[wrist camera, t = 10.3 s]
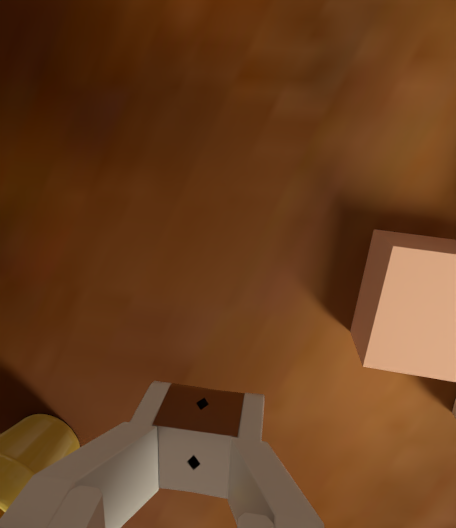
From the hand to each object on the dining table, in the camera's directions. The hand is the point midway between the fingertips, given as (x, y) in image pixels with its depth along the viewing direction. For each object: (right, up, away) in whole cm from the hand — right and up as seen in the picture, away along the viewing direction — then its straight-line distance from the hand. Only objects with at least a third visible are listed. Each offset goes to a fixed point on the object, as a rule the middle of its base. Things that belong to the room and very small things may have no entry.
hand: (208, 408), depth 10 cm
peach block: (+14, +2, +17) cm, 22 cm away
